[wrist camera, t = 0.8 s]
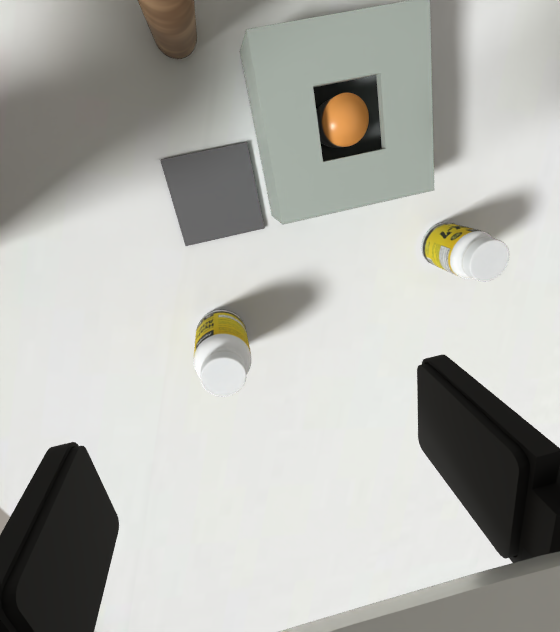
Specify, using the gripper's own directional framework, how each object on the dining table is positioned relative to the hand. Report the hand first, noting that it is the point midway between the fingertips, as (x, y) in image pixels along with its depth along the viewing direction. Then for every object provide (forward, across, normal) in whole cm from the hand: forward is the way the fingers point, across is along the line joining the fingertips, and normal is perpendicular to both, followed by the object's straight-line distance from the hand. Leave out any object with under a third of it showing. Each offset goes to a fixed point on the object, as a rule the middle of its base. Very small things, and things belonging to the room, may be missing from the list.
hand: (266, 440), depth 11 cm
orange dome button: (+29, -12, -9) cm, 32 cm away
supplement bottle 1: (+31, +2, +10) cm, 32 cm away
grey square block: (+30, -12, -9) cm, 34 cm away
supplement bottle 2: (+31, -23, +5) cm, 39 cm away
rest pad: (+30, 0, -4) cm, 30 cm away
